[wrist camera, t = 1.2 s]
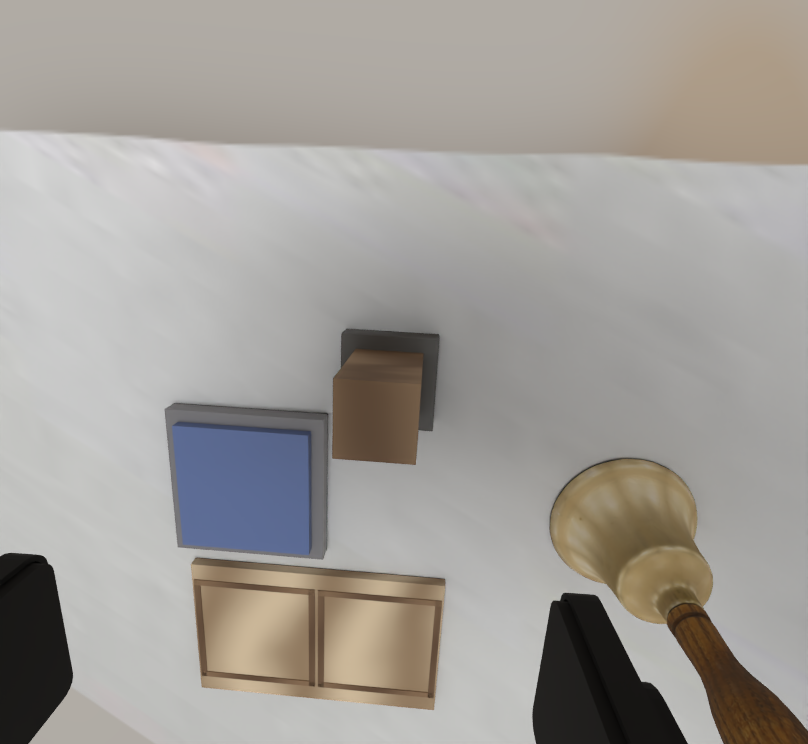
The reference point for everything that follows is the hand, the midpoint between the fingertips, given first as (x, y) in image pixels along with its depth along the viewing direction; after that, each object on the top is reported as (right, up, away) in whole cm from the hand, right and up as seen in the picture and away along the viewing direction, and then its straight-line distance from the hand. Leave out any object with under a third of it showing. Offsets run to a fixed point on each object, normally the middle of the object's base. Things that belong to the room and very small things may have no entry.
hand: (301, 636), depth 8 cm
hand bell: (+15, -4, +18) cm, 24 cm away
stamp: (+1, +5, +17) cm, 17 cm away
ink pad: (-7, -1, +19) cm, 20 cm away
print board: (-4, -12, +22) cm, 25 cm away
